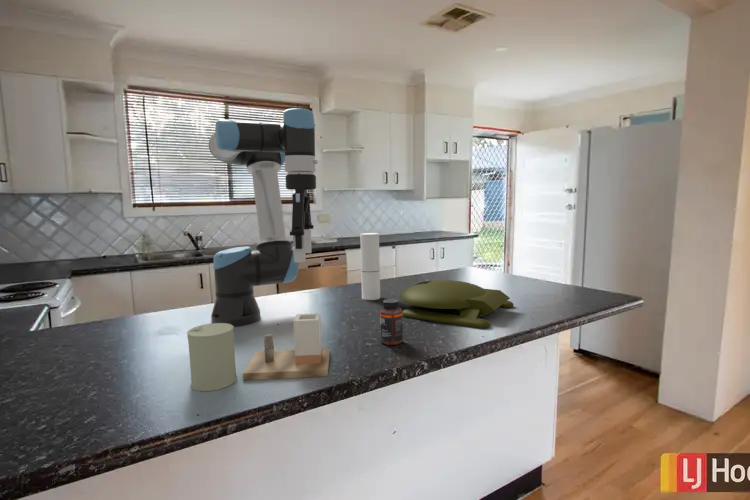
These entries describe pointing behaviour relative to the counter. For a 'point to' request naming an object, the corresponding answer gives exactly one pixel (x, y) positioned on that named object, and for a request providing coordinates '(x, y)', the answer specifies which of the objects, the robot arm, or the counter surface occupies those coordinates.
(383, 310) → the supplement bottle
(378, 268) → the cylindrical container
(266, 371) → the pin board
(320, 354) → the sleeve
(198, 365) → the can
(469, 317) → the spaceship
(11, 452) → the counter surface
